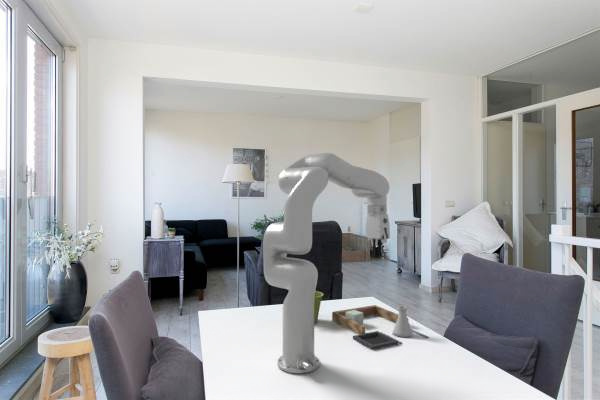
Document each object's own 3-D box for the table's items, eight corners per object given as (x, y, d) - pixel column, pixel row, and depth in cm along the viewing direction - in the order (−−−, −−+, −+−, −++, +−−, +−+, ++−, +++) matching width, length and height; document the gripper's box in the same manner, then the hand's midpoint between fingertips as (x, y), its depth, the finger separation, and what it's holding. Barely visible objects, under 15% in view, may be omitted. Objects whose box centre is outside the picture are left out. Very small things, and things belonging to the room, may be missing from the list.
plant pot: (324, 326, 147) (324, 297, 147) (293, 326, 147) (293, 297, 147) (322, 316, 158) (322, 290, 158) (294, 316, 159) (294, 290, 159)
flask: (406, 339, 133) (406, 311, 133) (388, 334, 138) (388, 307, 138) (416, 334, 138) (416, 307, 138) (398, 329, 143) (398, 303, 143)
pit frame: (398, 344, 128) (398, 340, 128) (372, 350, 123) (372, 346, 123) (377, 334, 138) (377, 330, 138) (352, 339, 133) (352, 335, 133)
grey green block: (363, 325, 148) (363, 312, 148) (354, 328, 145) (354, 315, 145) (354, 322, 152) (354, 309, 152) (345, 324, 149) (345, 312, 149)
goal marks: (428, 337, 135) (428, 336, 135) (399, 344, 129) (399, 342, 129) (406, 328, 144) (406, 327, 144) (379, 333, 138) (379, 332, 138)
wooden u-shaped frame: (408, 327, 145) (408, 318, 145) (362, 336, 135) (362, 327, 135) (375, 313, 164) (375, 305, 164) (332, 320, 154) (332, 311, 154)
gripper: (397, 210, 144) (397, 258, 144) (372, 209, 157) (372, 253, 157) (381, 210, 140) (381, 259, 140) (358, 209, 153) (357, 254, 153)
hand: (376, 256), depth 148 cm, fingers closed
